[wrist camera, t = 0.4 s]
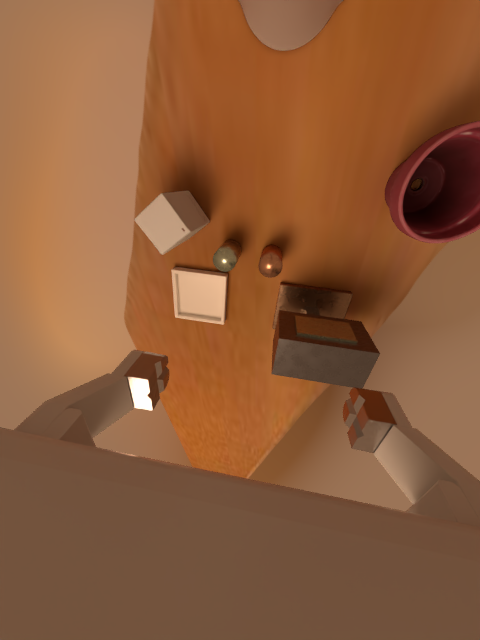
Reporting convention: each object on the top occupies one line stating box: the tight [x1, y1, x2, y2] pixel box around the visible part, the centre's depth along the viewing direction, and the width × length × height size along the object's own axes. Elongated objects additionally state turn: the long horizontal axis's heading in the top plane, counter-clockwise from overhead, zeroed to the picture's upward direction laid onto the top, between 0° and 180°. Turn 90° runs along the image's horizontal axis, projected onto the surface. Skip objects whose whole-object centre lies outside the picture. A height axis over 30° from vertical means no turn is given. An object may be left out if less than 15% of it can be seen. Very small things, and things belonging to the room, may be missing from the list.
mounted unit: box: [272, 282, 380, 388], centre depth 48 cm, size 12×16×20 cm
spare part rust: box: [259, 245, 282, 278], centre depth 48 cm, size 4×4×8 cm
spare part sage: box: [213, 240, 242, 272], centre depth 49 cm, size 4×4×8 cm
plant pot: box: [385, 121, 480, 243], centre depth 36 cm, size 14×14×13 cm
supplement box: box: [134, 191, 210, 255], centre depth 44 cm, size 7×7×13 cm
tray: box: [172, 267, 228, 325], centre depth 58 cm, size 13×13×2 cm
